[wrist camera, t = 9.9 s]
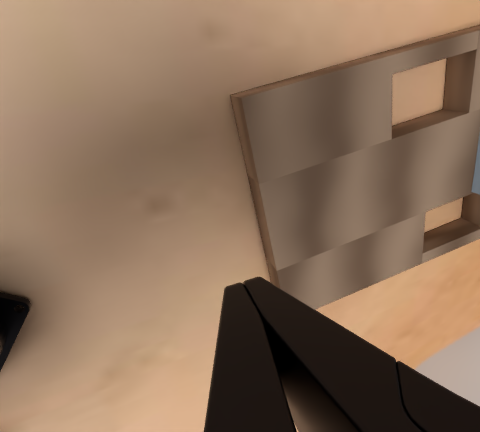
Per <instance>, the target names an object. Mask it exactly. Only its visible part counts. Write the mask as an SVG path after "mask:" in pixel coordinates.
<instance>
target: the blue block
mask: <svg viewBox="0 0 480 432" xmlns="http://www.w3.org/2000/svg"><path fill="white" fill-rule="evenodd" d="M471 192H474V193H476V194H479V195H480V135H479V142H478V149H477V156H476V163H475V170H474V177H473V184H472V191H471Z"/></svg>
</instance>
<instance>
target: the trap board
mask: <svg viewBox="0 0 480 432" xmlns="http://www.w3.org/2000/svg"><path fill="white" fill-rule="evenodd" d="M445 58H447V68H446V80H445V92H444V104H443V110H440V111H437V112H434V113H431V114H428V115H424V116H421V117H418V118H415V119H412V120H409V121H406V122H403V123H400V124H397V125H394V126H392V74H395V73H398V72H402V71H405V70H408V69H412V68H415V67H418V66H422V65H425V64H428V63H432V62H435V61H439V60H442V59H445ZM230 97H231V101H232V106H233V110H234V115H235V119H236V124H237V128H238V133H239V138H240V142H241V147H242V151H243V156H244V160H245V165H246V169H247V174H248V178H249V183H250V188H251V192H252V197H253V201H254V206H255V210H256V215H257V219H258V224H259V228H260V233H261V238H262V242H263V247H264V251H265V256H266V260H267V265H268V269H269V274H270V278H271V283H272V284H273V285H275V286H276V287H278V288H280V289H281V290H283V291H285V292H286V293H288V294H290V295H291V296H293V297H295V298H296V299H298V300H300V301H301V302H303V303H305V304H306V305H308V306H309V307H311V308H313V309H314V310H315V309H317V308H320V307H322V306H324V305H327V304H329V303H331V302H334V301H336V300H338V299H341V298H343V297H345V296H348V295H350V294H352V293H355V292H357V291H359V290H362V289H364V288H366V287H368V286H371V285H373V284H375V283H378V282H380V281H382V280H385V279H387V278H389V277H392V276H394V275H396V274H399V273H401V272H403V271H406V270H408V269H410V268H413V267H415V266H417V265H420V264H422V263H424V262H427V261H429V260H431V259H434V258H436V257H438V256H441V255H443V254H445V253H448V252H450V251H452V250H455V249H457V248H459V247H462V246H464V245H466V244H469V243H471V242H473V241H475V240H478V239H480V195H479V194H476V193H474V192H471V191H472V184H473V177H474V170H475V163H476V156H477V149H478V142H479V135H480V25H477V26H473V27H470V28H466V29H463V30H459V31H456V32H452V33H449V34H445V35H442V36H438V37H434V38H431V39H427V40H424V41H420V42H417V43H413V44H410V45H406V46H402V47H399V48H395V49H392V50H388V51H385V52H381V53H378V54H374V55H370V56H367V57H363V58H360V59H356V60H353V61H349V62H346V63H342V64H339V65H335V66H331V67H328V68H324V69H321V70H317V71H314V72H310V73H307V74H303V75H299V76H296V77H292V78H289V79H285V80H282V81H278V82H275V83H271V84H268V85H264V86H260V87H257V88H253V89H250V90H246V91H243V92H239V93H236V94H232V95H230ZM462 197H464V200H463V208H462V216H461V218H460V219H458V220H455V221H453V222H450V223H448V224H445V225H443V226H441V227H438V228H436V229H433V230H431V231H428V232H426V233H424V227H425V212H427V211H429V210H432V209H434V208H437V207H439V206H442V205H444V204H447V203H449V202H452V201H454V200H457V199H460V198H462Z"/></svg>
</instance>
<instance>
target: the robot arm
mask: <svg viewBox="0 0 480 432" xmlns="http://www.w3.org/2000/svg"><path fill="white" fill-rule="evenodd" d="M18 305H21V306H23V307H24V308H19V307H17V306H18ZM30 307H31V302H30V301H29V300H28V299H26V298H23V297H19V296H14V295H10V294H6V293H1V292H0V371H1V369H2V367H3V365H4V363H5V361H6V358H7V356H8V354H9V352H10V350H11V348H12V346H13V344H14V342H15V340H16V337H17V335H18V333H19V331H20V329H21V327H22V325H23V323H24V321H25V318H26V316H27V314H28V312H29V310H30ZM294 423H295V425H296V427H297V429H298V431H299V432H480V406H478V405H476V404H474V403H472V402H470V401H468V400H466V399H464V398H463V397H461V396H459V395H457V394H455V393H453V392H452V391H449V390H448V389H446V388H445V387H443V386H441V385H439V384H438V383H436V382H434V381H432V380H430V379H429V378H427V377H425V376H424V375H422V374H420V373H419V372H417V371H415V370H414V369H412V368H410V367H409V366H407V365H405V364H404V363H402V362H400V361H397V362H396V360H395V358H394V357H392V356H390V355H389V354H387V353H385V352H384V351H382V350H380V349H379V348H377V347H375V346H374V345H372V344H370V343H369V342H367V341H366V340H364V339H362V338H361V337H359V336H357V335H356V334H354V333H352V332H351V331H349V330H347V329H346V328H344V327H342V326H341V325H339V324H338V323H336V322H334V321H333V320H331V319H329V318H328V317H326V316H324V315H323V314H321V313H319V312H318V311H316V310H314V309H313V308H311V307H309V306H308V305H306V304H305V303H303V302H301V301H300V300H298V299H296V298H295V297H293V296H291V295H290V294H288V293H286V292H285V291H283V290H281V289H280V288H278V287H276V286H275V285H273V284H272V283H270V282H268V281H267V280H265V279H263V278H262V277H255V278H252V279H249V280H246V281H244V282H243V284H242V283H236V284H233V285H230V286H227V287H225V289H224V295H223V302H222V309H221V316H220V323H219V330H218V336H217V343H216V350H215V357H214V364H213V371H212V378H211V385H210V392H209V399H208V406H207V413H206V420H205V427H204V432H297V431H296V428H295V425H294Z"/></svg>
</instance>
